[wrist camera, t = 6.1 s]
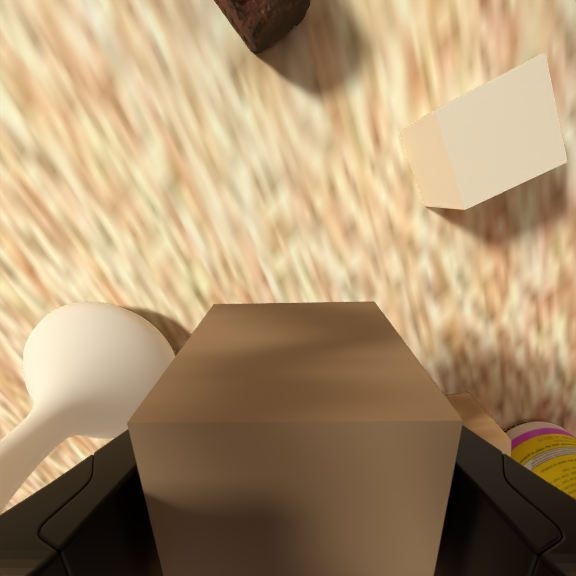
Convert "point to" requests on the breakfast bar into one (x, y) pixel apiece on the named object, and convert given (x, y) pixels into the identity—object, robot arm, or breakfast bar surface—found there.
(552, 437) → the supplement bottle
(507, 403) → the breakfast bar surface
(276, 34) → the brick
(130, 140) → the breakfast bar surface
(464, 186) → the cream cube
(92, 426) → the flower in vase
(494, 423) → the oak cube
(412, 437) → the walnut cube
